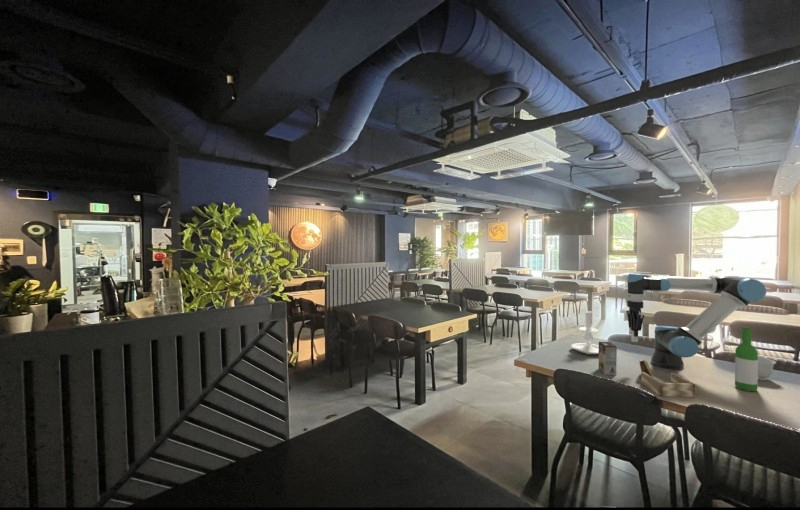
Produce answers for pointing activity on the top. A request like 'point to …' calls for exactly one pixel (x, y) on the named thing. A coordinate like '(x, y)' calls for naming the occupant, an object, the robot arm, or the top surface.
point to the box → (669, 386)
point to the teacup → (765, 367)
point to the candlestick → (587, 338)
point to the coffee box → (607, 358)
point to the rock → (645, 368)
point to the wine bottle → (746, 364)
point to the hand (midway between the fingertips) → (634, 341)
